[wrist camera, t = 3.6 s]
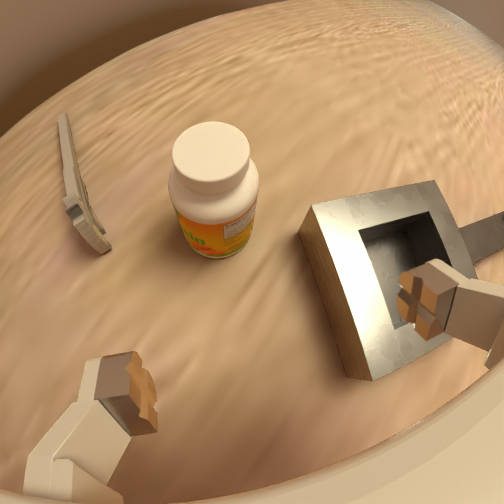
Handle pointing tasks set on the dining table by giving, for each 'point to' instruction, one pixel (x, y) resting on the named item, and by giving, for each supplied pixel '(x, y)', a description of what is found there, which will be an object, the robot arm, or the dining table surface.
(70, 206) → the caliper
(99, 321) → the dining table surface
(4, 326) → the dining table surface
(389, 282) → the ratchet holder
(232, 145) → the supplement bottle
